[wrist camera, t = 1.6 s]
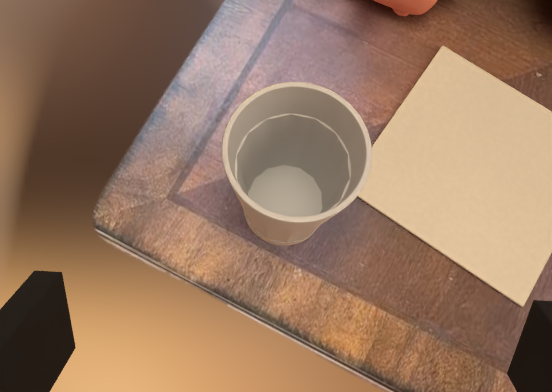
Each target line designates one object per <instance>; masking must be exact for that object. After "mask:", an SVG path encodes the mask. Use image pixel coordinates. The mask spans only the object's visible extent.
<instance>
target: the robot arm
mask: <svg viewBox="0 0 552 392" xmlns="http://www.w3.org/2000/svg"><path fill="white" fill-rule="evenodd" d="M74 349H75V342H74V337H73V331H72V326H71V320H70V314H69V309H68V304H67V298H66V292H65V287H64V281H63V276H62V272H48V271H34V272H33V273H32V274H31V275H30V276H29V278H28V279H27V280H26V281H25V282H24V283H23V284H22V285H21V287H20V288H19V289H18V290H17V291H16V292H15V294H14V295H13V296H12V297H11V298H10V299H9V300H8V302H6V304H5V305H4V306H3V307H2V308H1V309H0V392H50V390H51V388H52V386H53V385H54V383H55V382H56V380H57V378H58V376H59V375H60V373H61V371H62V370H63V368H64V366H65V365H66V363H67V361H68V359H69V358H70V356H71V354H72V353H73V351H74ZM507 374H508V376H509V378H510V380H511V382H512V383H513V385H514V387H515V389H516V391H517V392H552V301H537V300H534V301H533V303H532V306H531V309H530V312H529V314H528V317H527V320H526V323H525V325H524V328H523V331H522V334H521V337H520V339H519V342H518V345H517V348H516V350H515V353H514V356H513V359H512V361H511V364H510V367H509V370H508V372H507Z"/></svg>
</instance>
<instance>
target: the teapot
mask: <svg viewBox="0 0 552 392" xmlns="http://www.w3.org/2000/svg"><path fill="white" fill-rule="evenodd" d="M374 1H376V2H378V3H381V4H383V5H386V6H388V7H391V8H392V9H393V11H394V12H395V13H396V14H398V15H400V16H407V15H409V14H414V15H421V14H423V13H425V12H426V11H428V10H429V9H430V8H431V7H432V6H433V5H434V4H435V3H436V2H437V0H374Z"/></svg>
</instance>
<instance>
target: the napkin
mask: <svg viewBox="0 0 552 392" xmlns="http://www.w3.org/2000/svg"><path fill="white" fill-rule="evenodd" d="M357 197H358V198H360V199H361V200H363V201H364V202H366V203H367V204H368V205H370V206H371V207H373V208H374V209H376V210H377V211H379V212H380V213H382V214H383V215H385V216H386V217H388V218H389V219H391V220H392V221H394V222H395V223H397V224H398V225H400V226H401V227H403V228H404V229H406V230H407V231H409V232H410V233H412V234H413V235H415V236H416V237H418V238H419V239H421V240H422V241H424V242H425V243H426V244H428V245H429V246H431V247H432V248H434V249H435V250H437V251H438V252H440V253H441V254H443V255H444V256H446V257H447V258H449V259H450V260H452V261H453V262H455V263H456V264H458V265H459V266H461V267H462V268H464V269H465V270H467V271H468V272H470V273H471V274H473V275H474V276H476V277H477V278H479V279H480V280H482V281H483V282H484V283H486V284H487V285H489V286H490V287H492V288H493V289H495V290H496V291H498V292H499V293H501V294H502V295H504V296H505V297H507V298H508V299H510V300H511V301H513V302H514V303H516V304H517V305H519V306H520V307H523V306H524V304H525V302H526V300H527V298H528V296H529V294H530V293H531V291H532V289H533V287H534V285H535V283H536V281H537V279H538V277H539V275H540V274H541V272H542V270H543V268H544V266H545V264H546V262H547V260H548V258H549V256H550V255H551V253H552V112H551V111H550V110H548V109H547V108H545V107H543V106H542V105H540V104H538V103H537V102H535V101H533V100H532V99H530V98H528V97H527V96H525V95H523V94H522V93H520V92H518V91H517V90H515V89H514V88H512V87H510V86H509V85H507V84H505V83H504V82H502V81H500V80H499V79H497V78H495V77H494V76H492V75H490V74H489V73H487V72H486V71H484V70H482V69H481V68H479V67H477V66H476V65H474V64H472V63H471V62H469V61H467V60H466V59H464V58H462V57H461V56H459V55H458V54H456V53H454V52H453V51H451V50H449V49H448V48H446V47H444V46H443V45H442V47H441V48H440V49H439V51H438V52H437V54H436V55H435V57H434V58H433V60H432V61H431V62H430V64H429V65H428V67H427V68H426V70H425V71H424V72H423V74H422V75H421V77H420V78H419V80H418V81H417V83H416V84H415V85H414V87H413V88H412V90H411V91H410V93H409V94H408V95H407V97H406V98H405V100H404V101H403V103H402V104H401V106H400V107H399V108H398V110H397V111H396V113H395V114H394V116H393V117H392V118H391V120H390V121H389V123H388V124H387V126H386V127H385V129H384V130H383V131H382V133H381V134H380V136H379V137H378V139H377V140H376V141H375V143H374V144H373V146H372V162H371V168H370V172H369V175H368V178H367V181H366V183H365V185H364V187H363V188H362V190H361V191H360V193H359V194H358V196H357Z"/></svg>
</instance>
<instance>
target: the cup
mask: <svg viewBox="0 0 552 392" xmlns="http://www.w3.org/2000/svg"><path fill="white" fill-rule="evenodd" d="M222 159H223V165H224V169H225V172H226V175H227V177H228V179H229V181H230V183H231V185H232V187H233V189H234V191H235V193H236V195H237V197H238V199H239V201H240V203H241V205H242V208H243V210H244V216H245V219H246V221H247V224H248V225H249V227H250V229H251V230H252V231H253V232H254V233H255V234H256V235H257V236H258V237H259V238H261V239H262V240H264V241H266V242H268V243H270V244H274V245H278V246H290V245H295V244H298V243H301V242H303V241H305V240H306V239H308V238H309V237H310V236H312V235H313V234H314V232H315V231H316V230H317V229H318V227H319V226H320V225H321V224H322V223H324V222H326V221H327V220H329V219H330V218H332V217H333V216H334V215H336V214H337V213H339V212H340V211H341V210H343V209H344V208H345V207H347V206H348V205H349V204H350V203H351V202H352V201H353V200H354V199H355V198H356V197H357V196H358V194H359V193H360V191H361V190H362V188H363V187H364V185H365V183H366V181H367V178H368V175H369V172H370V168H371V162H372V147H371V141H370V137H369V133H368V131H367V128H366V126H365V124H364V122H363V120H362V118H361V117H360V115H359V114H358V113H357V111H356V110H355V109H354V108H353V107H352V106H351V105H350V104H349V103H348V102H347V101H346V100H345V99H343V98H342V97H341V96H339V95H338V94H336V93H334V92H333V91H331V90H329V89H326V88H324V87H321V86H318V85H315V84H310V83H304V82H286V83H279V84H275V85H271V86H268V87H266V88H263V89H261V90H259V91H257V92H256V93H254V94H252V95H251V96H250V97H248V98H247V99H246V100H245V101H244V102H242V103H241V104H240V106H239V107H238V108H237V109H236V110H235V112H234V113H233V115H232V116H231V118H230V120H229V122H228V124H227V126H226V129H225V132H224V136H223V142H222Z"/></svg>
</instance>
